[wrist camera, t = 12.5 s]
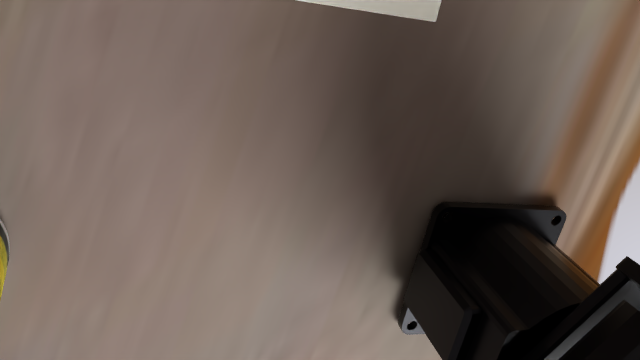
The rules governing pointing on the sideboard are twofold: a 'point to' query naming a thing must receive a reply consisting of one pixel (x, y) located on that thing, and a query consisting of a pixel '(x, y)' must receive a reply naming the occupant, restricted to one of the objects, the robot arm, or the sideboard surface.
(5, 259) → the supplement bottle
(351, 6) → the white u-shaped piece
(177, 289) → the sideboard surface
